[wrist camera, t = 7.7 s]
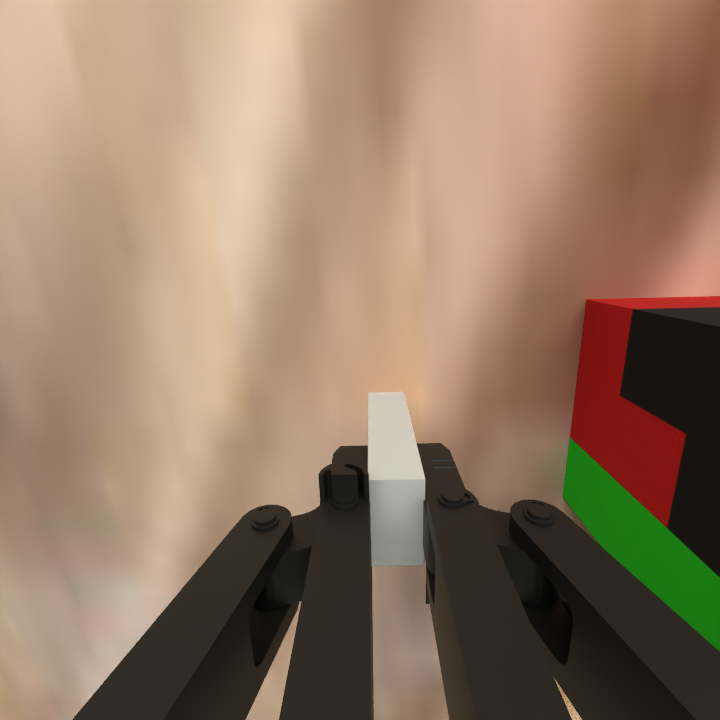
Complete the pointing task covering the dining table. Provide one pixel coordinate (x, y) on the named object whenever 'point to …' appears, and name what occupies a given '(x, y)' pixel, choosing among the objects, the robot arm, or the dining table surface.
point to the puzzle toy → (652, 446)
